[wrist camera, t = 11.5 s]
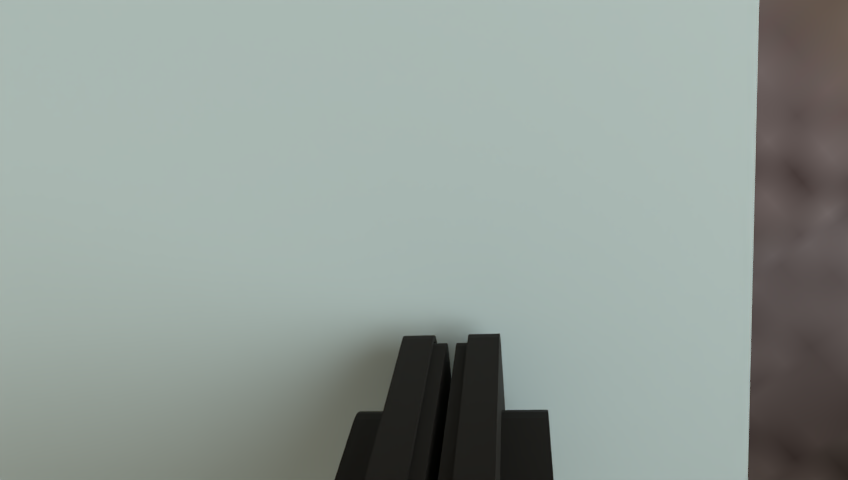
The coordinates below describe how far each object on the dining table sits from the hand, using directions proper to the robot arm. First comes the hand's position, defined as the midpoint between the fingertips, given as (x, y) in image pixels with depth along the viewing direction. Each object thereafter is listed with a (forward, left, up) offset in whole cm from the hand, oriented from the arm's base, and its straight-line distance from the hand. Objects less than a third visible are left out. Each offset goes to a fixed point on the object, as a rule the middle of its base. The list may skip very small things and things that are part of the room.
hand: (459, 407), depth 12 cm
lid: (+5, -2, -2) cm, 6 cm away
